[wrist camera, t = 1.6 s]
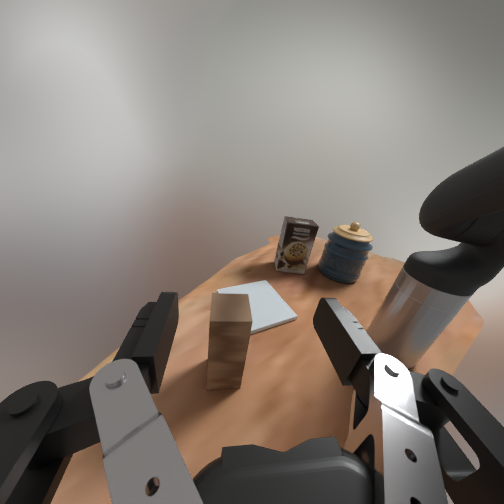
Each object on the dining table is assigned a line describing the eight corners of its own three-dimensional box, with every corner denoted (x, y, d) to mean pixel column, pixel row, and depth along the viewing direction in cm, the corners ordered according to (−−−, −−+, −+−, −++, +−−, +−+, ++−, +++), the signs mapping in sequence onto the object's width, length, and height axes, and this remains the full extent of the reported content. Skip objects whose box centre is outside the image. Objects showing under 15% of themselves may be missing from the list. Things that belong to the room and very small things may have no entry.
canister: (366, 283, 62) (392, 231, 54) (331, 285, 58) (353, 229, 50) (341, 262, 73) (359, 216, 65) (310, 262, 69) (325, 214, 61)
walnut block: (238, 357, 34) (248, 294, 28) (240, 388, 30) (252, 321, 23) (208, 358, 33) (212, 293, 27) (206, 390, 29) (209, 321, 23)
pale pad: (265, 282, 55) (265, 280, 54) (296, 319, 44) (297, 315, 44) (216, 292, 48) (216, 289, 48) (239, 338, 38) (240, 334, 37)
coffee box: (276, 271, 61) (287, 222, 54) (273, 261, 67) (283, 215, 59) (304, 274, 62) (319, 226, 54) (300, 264, 67) (313, 219, 60)
